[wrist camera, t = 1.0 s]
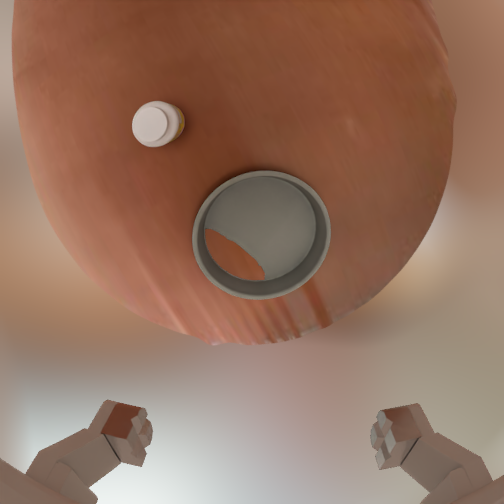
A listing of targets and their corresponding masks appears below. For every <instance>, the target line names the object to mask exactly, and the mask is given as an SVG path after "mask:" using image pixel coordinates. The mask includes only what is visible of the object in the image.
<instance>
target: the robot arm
mask: <svg viewBox="0 0 504 504" xmlns="http://www.w3.org/2000/svg"><path fill="white" fill-rule="evenodd" d="M146 417H147V412H146V410H145V408H141V407H136V406H132V405H127V404H123V403H119V402H115V401H111V400H106V401H105V402H103V404H102V406H101V408H100V409H99V411H98V412H97V414H96V416H95V418H94V419H93V421H92V423H91V424H90V426H89V428H88V429H82V430H81V431H79V432H77V433H75V434H73V435H71V436H69V437H67V438H65V439H63V440H61V441H59V442H57V443H55V444H53V445H51V446H49V447H47V448H45V449H43V450H41V451H39V452H38V454H37V456H36V457H35V459H34V461H33V462H32V464H31V465H30V467H29V469H28V470H27V472H26V474H23V473H22V472H20V471H19V470H17V469H15V468H14V467H12V466H11V465H9V464H8V463H6V462H5V461H4V460H2V459H1V458H0V504H96V503H97V500H98V498H97V496H96V495H95V494H94V493H93V492H92V491H91V490H90V489H89V487H90V486H92V485H93V484H94V483H96V482H97V481H98V480H99V479H101V478H102V477H104V476H105V475H106V474H108V473H109V472H110V471H112V470H113V469H114V468H115V467H117V466H118V465H119V464H120V463H121V462H123V463H127V464H131V465H135V466H140V467H142V465H143V462H144V459H145V456H146V451H145V449H144V448H145V447H147V446H148V445H150V443H151V440H152V432H153V430H152V425H151V422H150V421H149V420H148V419H146ZM377 420H378V421H377V422H376V423H375V424H373V426H372V429H371V435H370V436H371V444H372V447H373V448H374V449H376V450H377V451H378V452H377V454H376V456H375V457H376V461H377V464H378V467H379V470H382V469H387V468H392V467H397V466H400V467H401V468H402V469H403V470H404V471H405V472H407V473H408V474H409V475H410V476H411V477H412V478H414V479H415V480H416V481H417V482H418V483H419V484H421V485H422V486H423V487H424V488H425V489H426V490H428V491H429V492H430V494H428V495H427V497H425V499H423V501H422V502H421V503H420V504H504V475H503V476H501V477H500V478H498V479H496V480H494V481H493V480H492V478H491V476H490V474H489V472H488V470H487V468H486V466H485V464H484V462H483V460H482V458H481V457H480V456H478V455H476V454H474V453H472V452H471V451H469V450H467V449H465V448H464V447H462V446H460V445H458V444H457V443H455V442H453V441H451V440H450V439H447V438H446V437H444V436H443V435H441V434H439V433H434V431H433V429H432V427H431V425H430V423H429V421H428V419H427V417H426V416H425V414H424V412H423V410H422V408H421V406H420V405H419V404H418V403H416V404H411V405H406V406H400V407H395V408H390V409H385V410H380V411H379V412H378V414H377Z"/></svg>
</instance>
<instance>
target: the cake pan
mask: <svg viewBox="0 0 504 504" xmlns="http://www.w3.org/2000/svg"><path fill="white" fill-rule="evenodd" d="M205 229H212V230H214V231H217V232H219V233H220V234H221V235H223V236H225V237H226V238H227V239H228V240H231V241H234V242H235V243H237V244H238V245H239V246H240V247H242V248H243V249H244V250H245V251H246V252H247V253H249V254H250V255H251V256H252V257H253V258H254V259H256V260H257V262H258V263H259V264H258V265H260V266H261V267H262V269H263V271H264V272H265V280H246V279H242V278H239V277H236V276H233V275H231V274H229V273H228V272H227V271H225V270H223V269H222V268H221V267H220V266H219V265H218V264H217V263H216V262H215V261H214V259H213V258H212V256H211V254H210V252H209V250H208V248H207V245H206V240H205ZM330 238H331V226H330V219H329V215H328V212H327V209H326V207H325V205H324V203H323V201H322V200H321V198H320V197H319V195H318V194H317V193H316V192H315V191H314V190H313V189H312V188H311V187H310V186H309V185H307V184H306V183H305V182H303V181H301V180H300V179H298V178H296V177H294V176H291V175H289V174H285V173H283V172H276V171H255V172H249V173H245V174H242V175H239V176H236V177H234V178H232V179H230V180H228V181H226V182H225V183H223V184H222V185H220V186H219V187H218V188H217V189H216V190H214V191H213V192H212V193H211V194H210V195H209V196H208V198H207V199H206V200H205V202H204V203H203V205H202V206H201V208H200V209H199V212H198V214H197V216H196V219H195V222H194V227H193V233H192V245H193V251H194V255H195V258H196V261H197V263H198V265H199V267H200V269H201V270H202V272H203V273H204V275H205V276H206V277H207V278H208V279H209V280H210V281H211V282H212V283H213V284H214V285H215V286H217V287H218V288H220V289H221V290H223V291H225V292H227V293H229V294H231V295H234V296H237V297H241V298H246V299H256V300H260V299H270V298H275V297H279V296H282V295H285V294H287V293H289V292H291V291H293V290H295V289H297V288H299V287H300V286H301V285H303V284H304V283H305V282H307V281H308V280H309V279H310V278H311V277H312V276H313V275H314V274H315V273H316V271H317V270H318V269H319V267H320V266H321V264H322V262H323V261H324V259H325V256H326V254H327V251H328V248H329V244H330Z"/></svg>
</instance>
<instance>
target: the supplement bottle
mask: <svg viewBox="0 0 504 504" xmlns="http://www.w3.org/2000/svg"><path fill="white" fill-rule="evenodd" d="M184 126H185V118H184V115H183V113H182V111H181V110H180V109H179V108H177V107H176V106H174V105H171V104H168V103H165V102H162V101H153V102H149V103H146V104H145V105H143V106H142V107H140V108H139V109H138V111H137V112H136V114H135V116H134V118H133V122H132V130H133V133H134V136H135V137H136V139H137V140H138V141H139V142H140V143H142V144H143V145H145V146H148V147H159V146H162V145H165V144H167V143H169V142H171V141H173V140H175V139H176V138H177V137H179V136H180V134H181V133H182V131H183V129H184Z"/></svg>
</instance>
